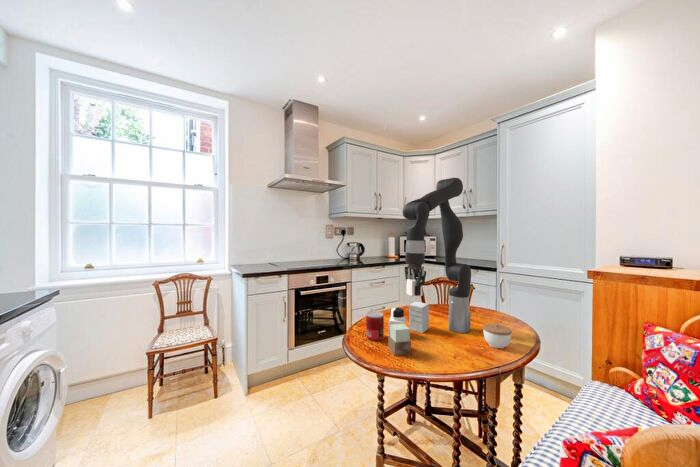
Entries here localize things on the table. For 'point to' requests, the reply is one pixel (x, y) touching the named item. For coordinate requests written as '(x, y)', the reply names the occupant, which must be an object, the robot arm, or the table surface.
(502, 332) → the lidded jar
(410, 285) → the cream block
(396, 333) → the sage block
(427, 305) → the supplement box
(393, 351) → the walnut base block
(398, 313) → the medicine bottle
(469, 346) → the table surface
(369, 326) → the canned food
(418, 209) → the robot arm
